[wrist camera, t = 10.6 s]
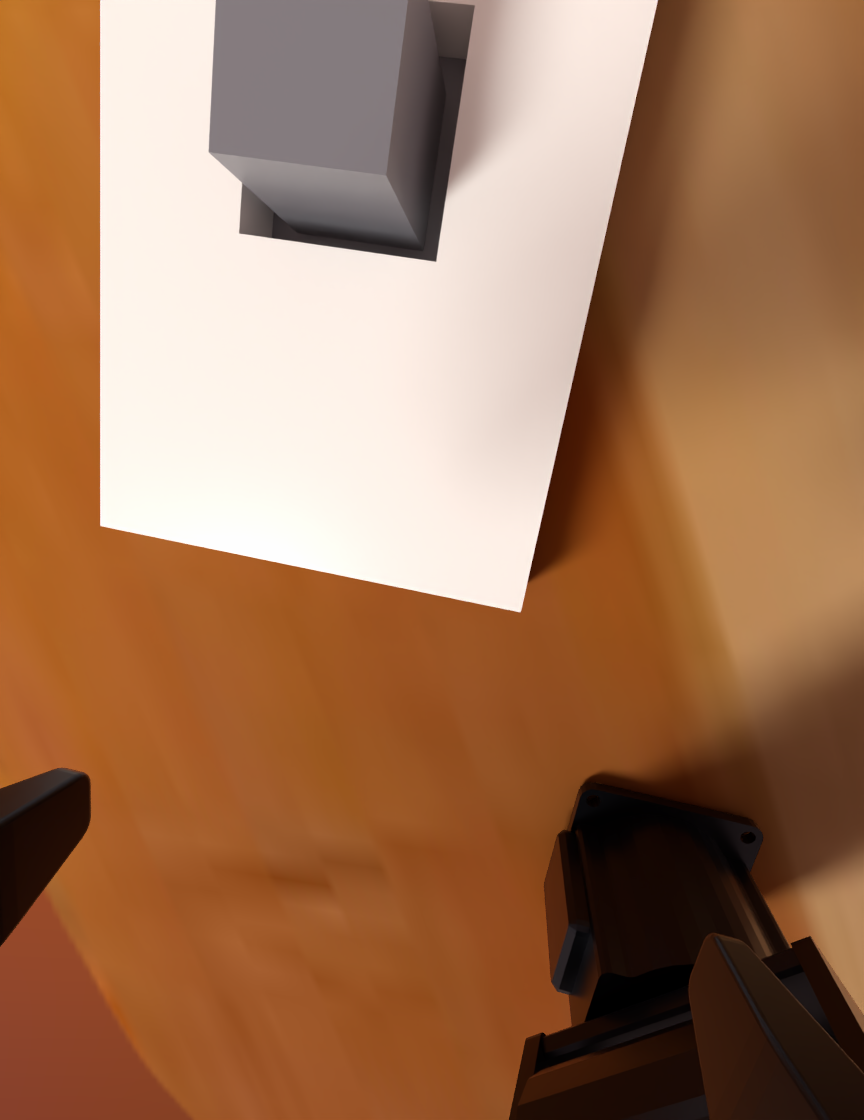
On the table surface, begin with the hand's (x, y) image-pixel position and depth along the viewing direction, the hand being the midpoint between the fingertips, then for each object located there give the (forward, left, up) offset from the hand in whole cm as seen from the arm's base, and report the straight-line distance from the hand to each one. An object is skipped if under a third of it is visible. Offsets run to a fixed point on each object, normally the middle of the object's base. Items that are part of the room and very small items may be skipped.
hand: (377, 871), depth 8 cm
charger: (+5, -13, -12) cm, 18 cm away
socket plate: (+5, -10, -12) cm, 16 cm away
